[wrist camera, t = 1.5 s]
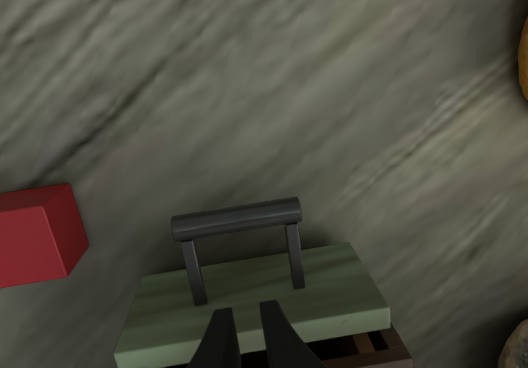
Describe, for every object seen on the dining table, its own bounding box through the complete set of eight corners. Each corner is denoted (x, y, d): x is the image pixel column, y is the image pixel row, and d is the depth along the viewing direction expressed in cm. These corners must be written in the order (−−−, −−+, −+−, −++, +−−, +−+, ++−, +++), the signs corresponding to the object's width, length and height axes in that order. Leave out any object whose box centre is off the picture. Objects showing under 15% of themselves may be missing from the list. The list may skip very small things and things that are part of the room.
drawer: (121, 200, 21) (80, 258, 15) (344, 165, 22) (387, 208, 16) (185, 430, 27) (173, 536, 21) (360, 398, 28) (396, 494, 22)
